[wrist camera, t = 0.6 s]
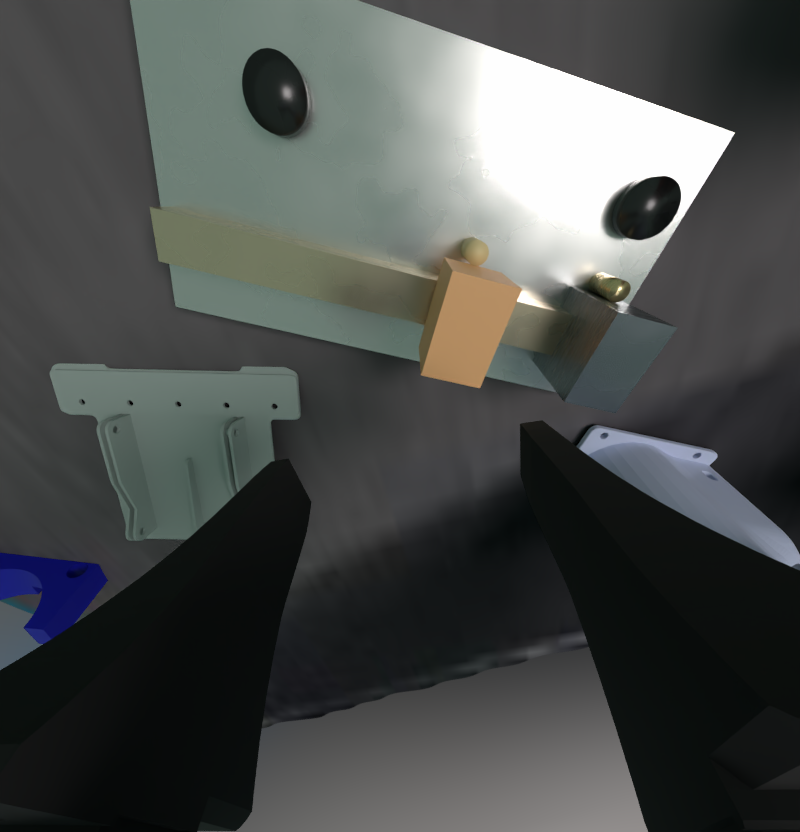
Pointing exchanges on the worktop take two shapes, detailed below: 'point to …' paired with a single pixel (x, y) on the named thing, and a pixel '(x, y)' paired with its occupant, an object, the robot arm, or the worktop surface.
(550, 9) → the worktop surface
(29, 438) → the worktop surface
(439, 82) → the plate
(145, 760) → the robot arm
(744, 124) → the worktop surface
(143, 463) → the metal bracket
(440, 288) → the block
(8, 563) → the cable clip
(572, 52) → the worktop surface
